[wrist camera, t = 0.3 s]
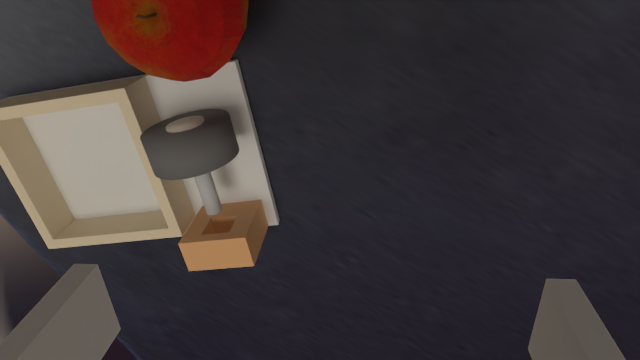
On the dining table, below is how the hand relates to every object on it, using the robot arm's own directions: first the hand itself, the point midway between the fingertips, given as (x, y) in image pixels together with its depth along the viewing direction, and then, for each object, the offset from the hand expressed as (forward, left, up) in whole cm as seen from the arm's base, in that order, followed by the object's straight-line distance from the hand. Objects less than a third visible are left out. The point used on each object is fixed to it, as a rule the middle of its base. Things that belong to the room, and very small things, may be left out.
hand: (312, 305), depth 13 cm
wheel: (+4, -13, -25) cm, 28 cm away
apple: (-8, -10, -26) cm, 29 cm away
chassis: (+5, -20, -26) cm, 33 cm away
